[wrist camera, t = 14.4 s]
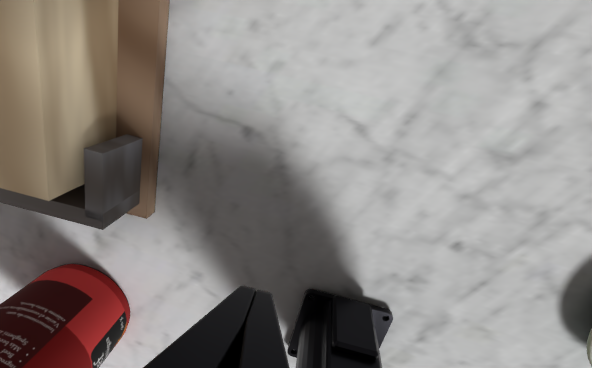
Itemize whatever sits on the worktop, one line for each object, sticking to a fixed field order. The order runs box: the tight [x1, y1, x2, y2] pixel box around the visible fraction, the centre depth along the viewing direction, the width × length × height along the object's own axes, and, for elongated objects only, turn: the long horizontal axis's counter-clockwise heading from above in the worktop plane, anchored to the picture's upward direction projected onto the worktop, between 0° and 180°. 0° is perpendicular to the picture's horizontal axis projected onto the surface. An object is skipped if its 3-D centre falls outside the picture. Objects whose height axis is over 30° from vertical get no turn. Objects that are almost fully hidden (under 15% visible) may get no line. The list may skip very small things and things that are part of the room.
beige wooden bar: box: [0, 0, 119, 201], centre depth 14 cm, size 4×16×5 cm, turn 167°
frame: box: [0, 0, 170, 230], centre depth 16 cm, size 22×8×4 cm, turn 167°
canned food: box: [0, 264, 130, 368], centre depth 20 cm, size 8×8×11 cm
